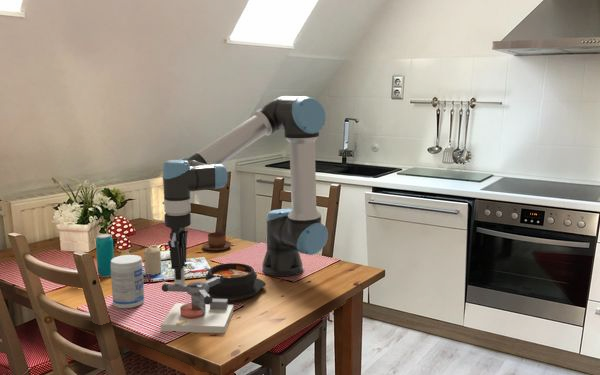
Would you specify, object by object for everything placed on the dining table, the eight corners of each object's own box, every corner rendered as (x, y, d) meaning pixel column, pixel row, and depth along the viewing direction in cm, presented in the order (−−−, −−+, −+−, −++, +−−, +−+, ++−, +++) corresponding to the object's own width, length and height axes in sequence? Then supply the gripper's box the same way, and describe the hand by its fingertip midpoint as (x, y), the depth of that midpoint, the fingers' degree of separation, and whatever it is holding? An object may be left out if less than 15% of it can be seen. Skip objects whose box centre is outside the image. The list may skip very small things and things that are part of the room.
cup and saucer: (207, 243, 235) (207, 230, 234) (234, 245, 233) (234, 231, 232) (198, 252, 223) (198, 237, 222) (226, 253, 221) (226, 239, 220)
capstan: (224, 301, 167) (224, 273, 165) (212, 328, 148) (211, 297, 147) (171, 299, 167) (170, 272, 166) (152, 326, 149) (151, 296, 147)
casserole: (242, 277, 194) (241, 255, 192) (278, 291, 181) (278, 267, 180) (183, 296, 176) (182, 272, 174) (219, 313, 163) (218, 287, 162)
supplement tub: (143, 308, 167) (141, 263, 164) (111, 310, 164) (108, 265, 162) (145, 296, 176) (143, 253, 173) (114, 298, 174) (112, 255, 171)
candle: (150, 276, 194) (148, 249, 192) (143, 272, 198) (141, 246, 196) (164, 273, 197) (162, 247, 195) (157, 269, 201) (155, 243, 200)
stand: (233, 310, 165) (233, 297, 164) (224, 333, 150) (224, 318, 149) (175, 309, 166) (175, 295, 165) (160, 331, 151) (160, 316, 150)
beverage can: (110, 271, 198) (108, 232, 196) (117, 275, 194) (115, 235, 192) (95, 275, 194) (92, 235, 192) (102, 279, 190) (99, 238, 188)
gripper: (171, 207, 165) (173, 280, 169) (158, 217, 152) (161, 296, 157) (195, 208, 165) (197, 281, 169) (184, 218, 152) (186, 297, 156)
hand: (179, 288), depth 163 cm, fingers closed
